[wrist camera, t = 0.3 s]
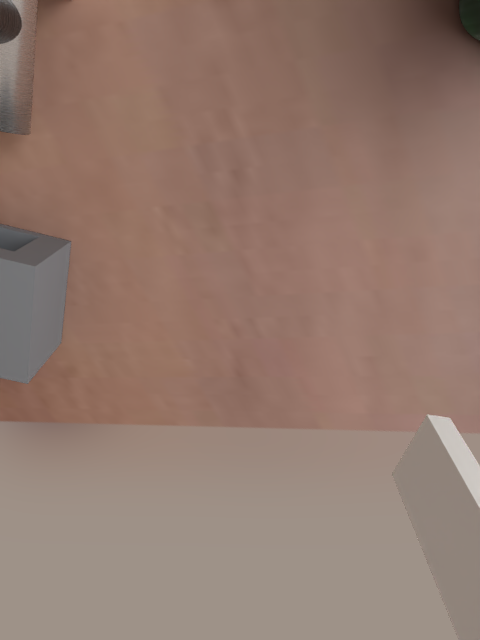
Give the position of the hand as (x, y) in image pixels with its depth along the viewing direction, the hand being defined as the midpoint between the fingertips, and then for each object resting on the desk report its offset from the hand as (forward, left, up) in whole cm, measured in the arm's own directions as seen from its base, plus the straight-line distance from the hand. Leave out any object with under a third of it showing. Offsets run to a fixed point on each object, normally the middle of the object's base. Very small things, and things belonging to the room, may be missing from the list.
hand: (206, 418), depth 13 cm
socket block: (+10, -17, -26) cm, 33 cm away
